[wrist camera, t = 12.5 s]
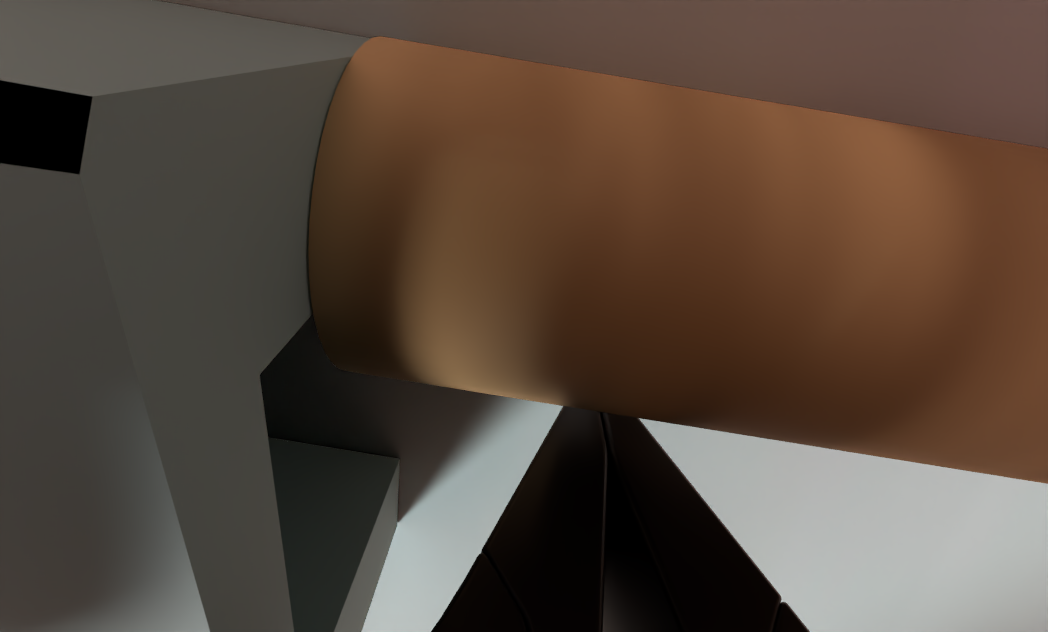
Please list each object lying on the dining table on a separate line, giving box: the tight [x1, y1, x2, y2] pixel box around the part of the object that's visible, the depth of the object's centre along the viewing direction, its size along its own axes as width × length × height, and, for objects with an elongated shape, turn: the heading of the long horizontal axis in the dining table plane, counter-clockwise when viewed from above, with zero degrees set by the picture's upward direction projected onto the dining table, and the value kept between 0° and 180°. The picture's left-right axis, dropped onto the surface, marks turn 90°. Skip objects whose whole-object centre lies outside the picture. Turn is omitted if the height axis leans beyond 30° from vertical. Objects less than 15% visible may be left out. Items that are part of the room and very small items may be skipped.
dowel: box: [308, 36, 1048, 484], centre depth 6 cm, size 10×4×4 cm
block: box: [0, 0, 400, 632], centre depth 6 cm, size 7×9×5 cm
